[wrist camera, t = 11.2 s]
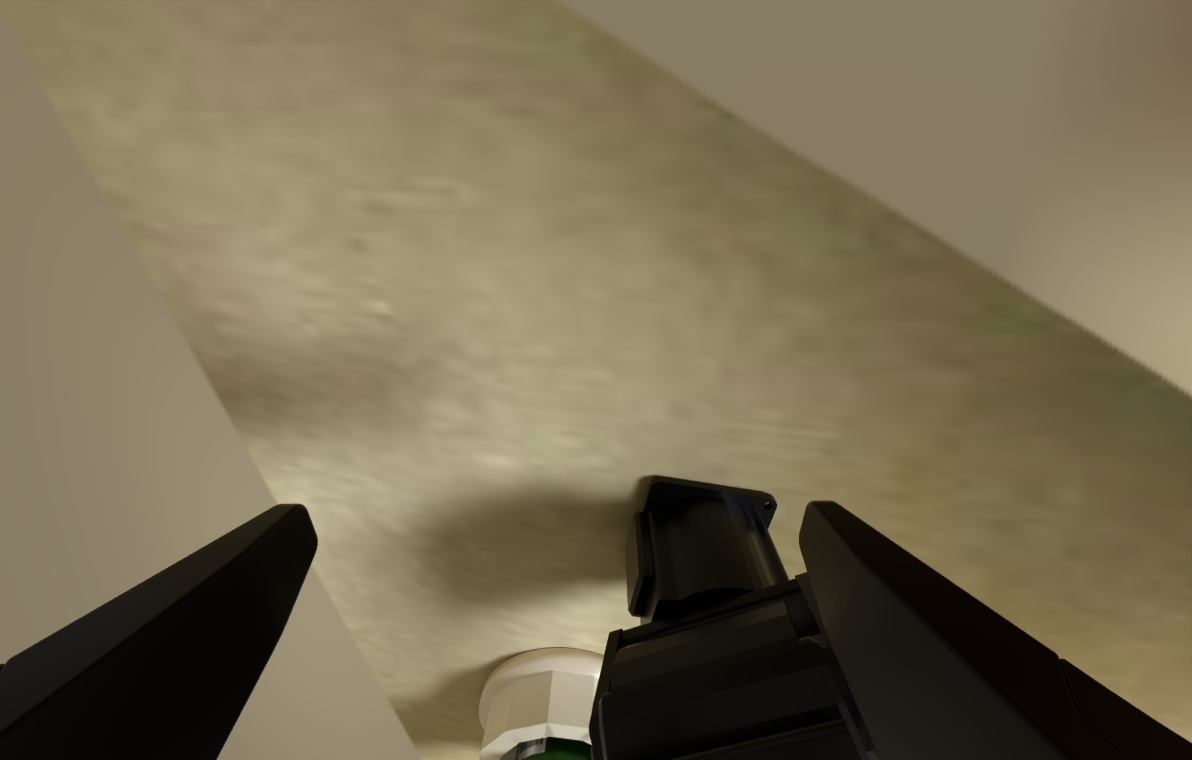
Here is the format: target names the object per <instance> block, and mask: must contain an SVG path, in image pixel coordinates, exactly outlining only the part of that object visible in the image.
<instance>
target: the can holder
mask: <svg viewBox="0 0 1192 760" xmlns="http://www.w3.org/2000/svg"><path fill="white" fill-rule="evenodd" d="M603 658H604V656H602V655H600V654H597V653H593V652H590V651H585V650H580V649H572V648H545V649H538V650H532V651H528V652H525V653H521V654H519V655H516V656H514V657H512V658H510V659H508V660H506V661H504V662H503V663H501V664H500V665H499V666H497V667H496V668H495V669H494V670H493V671H492V672H491V673H490V675H489V676H488V678H487V679H486V681H485V684H484V686H483V690H482V694H481V699H480V703H479V708H478V716H479V720H480V723H481V726H482V728H483V730H484V731H485V733H484V737H483V742H482V747H481V751H480V760H515V757H516V751H517V745H518V743H520V742H525V741H530V740H535V739H540V738H545V737H558V738H566V739H574V740H581V741H584V742H586V743H588V744H590V745H592V744H591V740H590V736H589V722H590V718H591V713H592V706H593V701H594V697H595V693H596V688H597V684H598V680H599V675H600V671H601V667H602V662H603Z"/></svg>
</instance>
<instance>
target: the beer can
mask: <svg viewBox="0 0 1192 760" xmlns="http://www.w3.org/2000/svg"><path fill="white" fill-rule="evenodd" d="M591 747H592V745H590V744H588V743H586V742H584V741H581V740H574V739H566V738H558V737H545V738H540V739H535V740H530V741H525V742H520V743H518V745H517V751H516V757H515V760H592V759H591Z"/></svg>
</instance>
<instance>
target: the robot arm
mask: <svg viewBox="0 0 1192 760" xmlns="http://www.w3.org/2000/svg"><path fill="white" fill-rule="evenodd" d="M657 486H663V488H661V489H656V487H657ZM766 502H769V503H768V504H767V505H763V504H764V503H766ZM776 508H777V503H776V501H775V499H774V497H773V496H772V495H771V494H768V493H762V492H755V491H749V490H743V489H736V488H730V487H723V486H717V485H710V484H704V483H697V482H691V481H684V480H678V479H672V478H665V477H656V478H653V479H652V480H651V481H650V483H649V486H648V490H647V494H646V498H645V502H644V505H643V509H642V512H637V513H636V514H635V515H634V518H633V522H632V526H631V530H630V534H629V538H628V541H627V545H626V574H627V597H628V611H629V612H630V614H631V615H632V616H635V617H640V621H641V625H640V626H637V627H634V628H631V629H627V630H624V631H623V630H622V629H619V630H615V631H612V632H610V633H609V637H608V641H607V645H606V650H605V654H604V658H603V662H602V667H601V671H600V675H599V680H598V684H597V688H596V693H595V697H594V701H593V706H592V713H591V718H590V722H589V736H590V740H591V744H592V747H591V759H592V760H1192V743H1191V742H1189V741H1188V740H1186V739H1184V738H1183V737H1181V736H1180V735H1178V734H1176V733H1175V732H1173V731H1172V730H1170V729H1169V728H1167V727H1165V726H1164V725H1162V724H1161V723H1159V722H1158V721H1156V720H1154V719H1153V718H1151V717H1150V716H1148V715H1147V714H1145V713H1144V712H1142V711H1141V710H1139V709H1138V708H1136V707H1135V706H1133V705H1132V704H1130V703H1129V702H1127V701H1126V700H1124V699H1123V698H1121V697H1120V696H1118V695H1117V694H1115V693H1114V692H1112V691H1111V690H1109V689H1108V688H1106V687H1105V686H1103V685H1102V684H1100V683H1099V682H1097V681H1096V680H1094V679H1093V678H1092V677H1090V676H1089V675H1087V674H1086V673H1084V672H1083V671H1081V670H1080V669H1078V668H1077V667H1075V666H1074V665H1073V664H1071V663H1070V662H1068V661H1067V660H1065V659H1059V657H1058V655H1057V654H1056V653H1055V652H1053V651H1052V650H1050V649H1049V648H1047V647H1046V646H1045V645H1043V644H1042V643H1040V642H1039V641H1037V640H1036V639H1034V638H1033V637H1031V636H1030V635H1029V634H1027V633H1026V632H1024V631H1023V630H1021V629H1020V628H1018V627H1017V626H1015V625H1014V624H1013V623H1011V622H1010V621H1008V620H1007V619H1005V618H1004V617H1002V616H1001V615H999V614H998V613H996V612H995V611H994V610H992V609H991V608H989V607H988V606H986V605H985V604H983V603H982V602H980V601H979V600H978V599H976V598H975V597H973V596H972V595H970V594H969V593H967V592H966V591H964V590H963V589H961V588H960V587H959V586H957V585H956V584H954V583H953V582H951V581H950V580H948V579H947V578H945V577H944V576H943V575H941V574H940V573H938V572H937V571H935V570H934V569H932V568H931V567H929V566H928V565H927V564H925V563H924V562H922V561H921V560H919V559H918V558H916V557H915V556H913V555H912V554H910V553H909V552H908V551H906V550H905V549H903V548H902V547H900V546H899V545H897V544H896V543H894V542H893V541H892V540H890V539H889V538H887V537H886V536H884V535H883V534H881V533H880V532H878V531H877V530H875V529H874V528H873V527H871V526H870V525H868V524H867V523H865V522H864V521H862V520H861V519H859V518H858V517H857V516H855V515H854V514H852V513H851V512H849V511H848V510H846V509H845V508H843V507H842V506H840V505H839V504H838V503H836V502H834V501H811V502H809V503H808V504H807V506H806V510H805V514H804V517H803V521H802V525H801V529H800V533H799V545H800V549H801V553H802V556H803V559H804V563H805V566H806V569H807V572H806V573H802V574H799V575H796V576H795V579H792V580H789V578H788V576H787V573H786V571H785V569H784V566H783V564H782V562H781V559H780V557H779V555H778V552H777V550H776V548H775V546H774V543H773V541H772V539H771V536H770V534H769V532H768V528H769V525H770V523H771V520H772V518H773V515H774V513H775V511H776ZM317 546H318V538H317V534H316V532H315V529H314V526H313V524H312V521H311V518H310V516H309V513H308V510H307V508H306V507H305V506H304V505H302V504H279V505H276V506H274V507H272V508H270V509H269V510H267V511H265V512H263V513H262V514H260V515H258V516H257V517H255V518H253V519H251V520H250V521H248V522H246V523H245V524H243V525H241V526H239V527H237V528H236V529H234V530H232V531H231V532H229V533H227V534H225V535H223V536H222V537H220V538H218V539H216V540H215V541H213V542H212V543H210V544H208V545H206V546H204V547H203V548H201V549H199V550H197V551H196V552H194V553H192V554H190V555H189V556H187V557H185V558H184V559H182V560H180V561H178V562H177V563H175V564H173V565H171V566H170V567H168V568H166V569H165V570H163V571H161V572H159V573H157V574H156V575H154V576H152V577H151V578H149V579H147V580H145V581H144V582H142V583H140V584H138V585H137V586H135V587H133V588H131V589H130V590H128V591H126V592H125V593H123V594H121V595H119V596H118V597H116V598H114V599H112V600H111V601H109V602H107V603H105V604H104V605H102V606H100V607H98V608H97V609H95V610H93V611H91V612H90V613H88V614H86V615H85V616H83V617H81V618H80V619H78V620H76V621H74V622H72V623H71V624H69V625H67V626H65V627H64V628H62V629H60V630H59V631H57V632H55V633H53V634H52V635H50V636H48V637H46V638H45V639H43V640H41V641H39V642H38V643H36V644H34V645H33V646H31V647H29V648H27V649H26V650H24V651H22V652H20V653H19V654H17V655H15V656H13V657H12V658H10V659H9V660H8V661H7V662H6V664H0V760H217V758H218V755H219V754H220V752H221V750H222V748H223V746H224V744H225V742H226V741H227V739H228V737H229V735H230V733H231V731H232V729H233V727H234V725H235V723H236V722H237V720H238V718H239V716H240V714H241V712H242V710H243V708H244V706H245V704H246V702H247V701H248V699H249V697H250V694H251V693H252V691H253V689H254V687H255V685H256V683H257V682H258V680H259V678H260V676H261V674H262V672H263V670H264V668H265V666H266V664H267V662H268V661H269V659H270V657H271V655H272V653H273V651H274V649H275V647H276V645H277V643H278V641H279V639H280V637H281V635H282V633H283V631H284V628H285V626H286V624H287V622H288V619H289V616H290V614H291V612H292V609H293V607H294V604H295V602H296V600H297V597H298V595H299V592H300V589H301V587H302V585H303V583H304V580H305V578H306V575H307V573H308V570H309V568H310V565H311V563H312V561H313V558H314V556H315V553H316V550H317Z"/></svg>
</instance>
